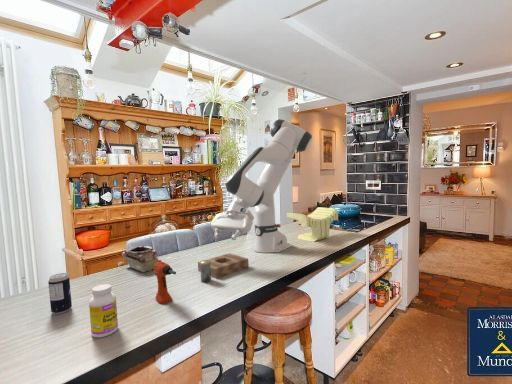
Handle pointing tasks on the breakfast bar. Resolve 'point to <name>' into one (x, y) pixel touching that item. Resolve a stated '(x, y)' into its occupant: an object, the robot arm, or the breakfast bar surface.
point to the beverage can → (60, 293)
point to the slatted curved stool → (316, 223)
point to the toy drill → (162, 281)
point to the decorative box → (141, 258)
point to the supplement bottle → (103, 311)
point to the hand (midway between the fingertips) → (224, 238)
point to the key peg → (205, 271)
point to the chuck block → (226, 265)
